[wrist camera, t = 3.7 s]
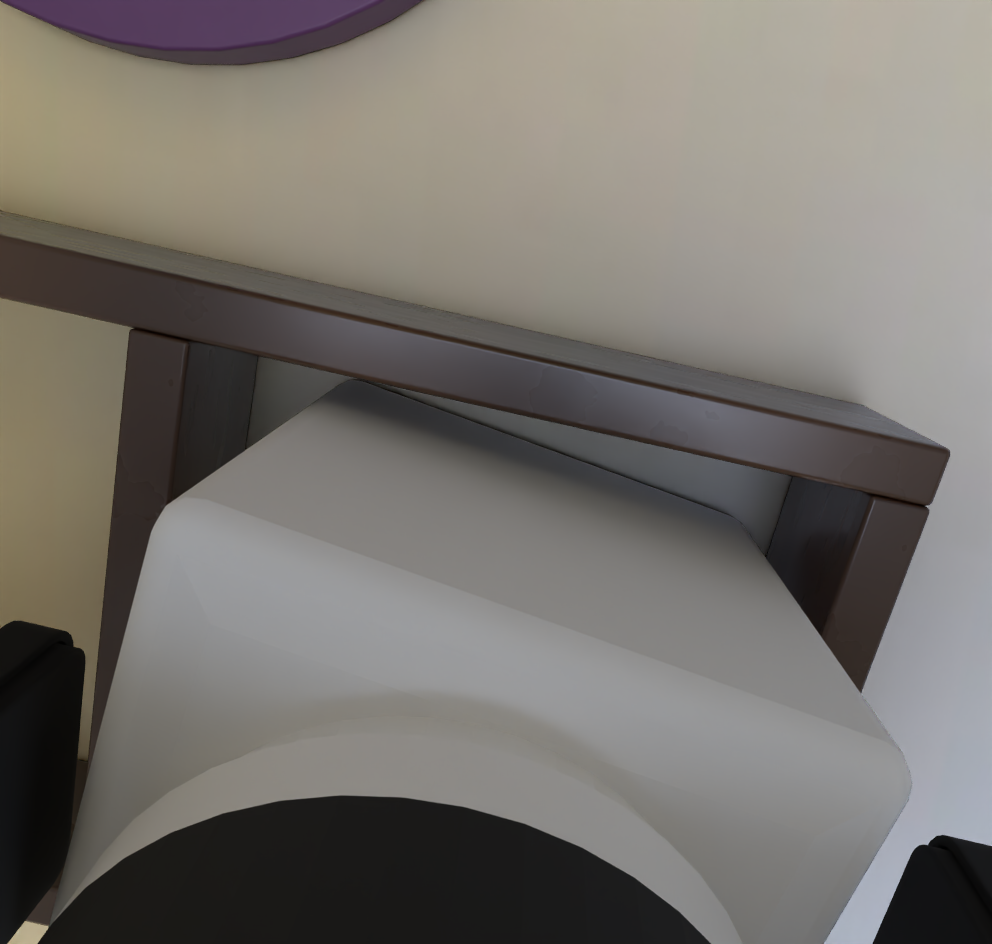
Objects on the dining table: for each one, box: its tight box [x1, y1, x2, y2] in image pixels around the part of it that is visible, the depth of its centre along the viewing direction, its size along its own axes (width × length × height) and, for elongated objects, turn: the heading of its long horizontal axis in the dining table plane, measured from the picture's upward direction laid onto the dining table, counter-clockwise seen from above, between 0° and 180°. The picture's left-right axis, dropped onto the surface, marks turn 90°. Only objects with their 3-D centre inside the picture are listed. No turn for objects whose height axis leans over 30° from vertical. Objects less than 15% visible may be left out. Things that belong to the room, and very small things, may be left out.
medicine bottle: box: [38, 380, 912, 944], centre depth 9 cm, size 7×7×12 cm
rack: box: [0, 211, 950, 926], centre depth 13 cm, size 20×11×3 cm, turn 78°
